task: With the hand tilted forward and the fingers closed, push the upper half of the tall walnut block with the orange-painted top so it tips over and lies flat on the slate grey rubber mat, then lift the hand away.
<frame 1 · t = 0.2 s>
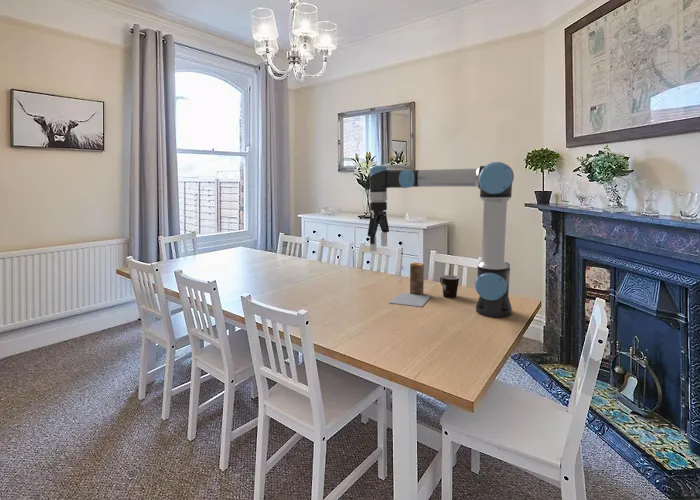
hand: (378, 248, 183), 28 cm above the table, tool pointing down, fingers open, 13 cm apart
rubber mat: (410, 299, 199), on the table
coffee mug: (449, 295, 205), on the table
walnut block: (416, 293, 209), on the table
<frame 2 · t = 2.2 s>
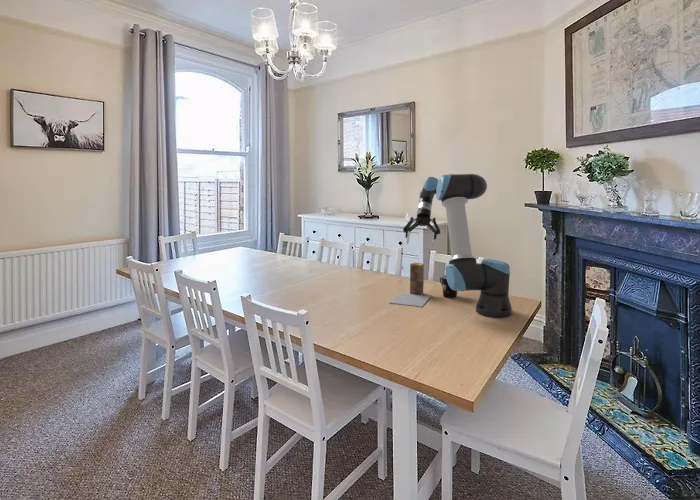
hand: (419, 243, 219), 24 cm above the table, tool tilted 40°, fingers open, 13 cm apart
nothing on the table moved.
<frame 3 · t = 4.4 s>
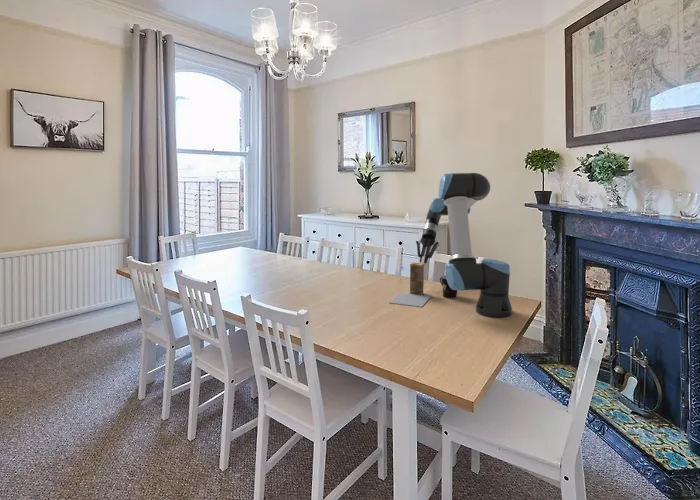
hand: (421, 267, 217), 11 cm above the table, tool tilted 45°, fingers closed
nothing on the table moved.
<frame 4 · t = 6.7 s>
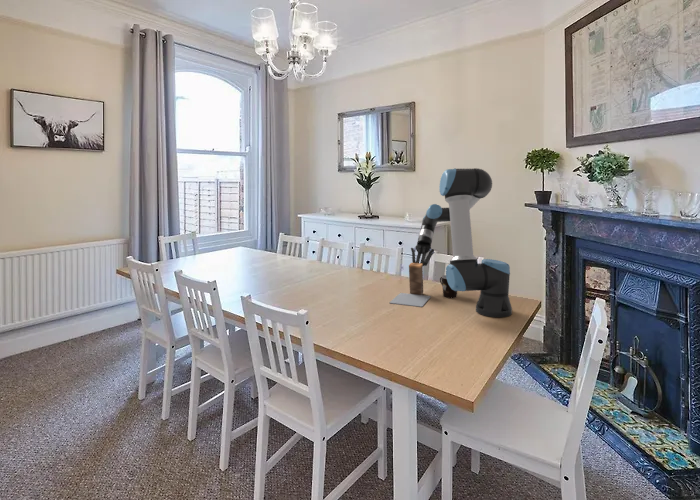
hand: (416, 275, 209), 9 cm above the table, tool tilted 45°, fingers closed
walnut block: (416, 293, 209), on the table, tilted 9°
everything else where it was.
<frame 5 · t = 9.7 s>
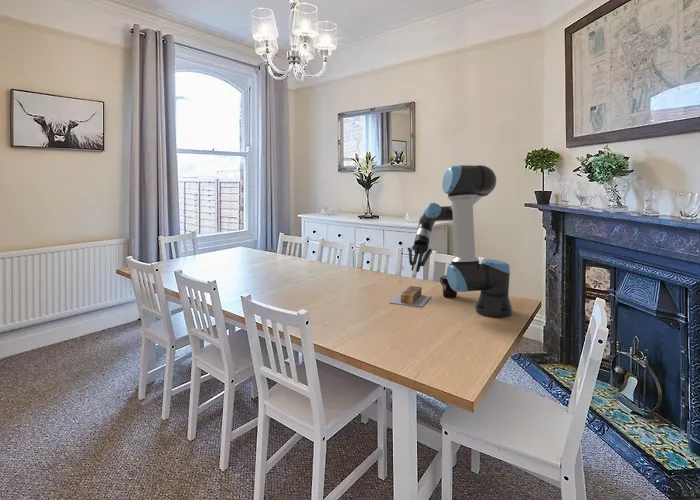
hand: (413, 276, 202), 10 cm above the table, tool tilted 45°, fingers closed
walnut block: (415, 290, 207), point 2 cm above the table, tilted 90°, touching rubber mat
everything else where it was.
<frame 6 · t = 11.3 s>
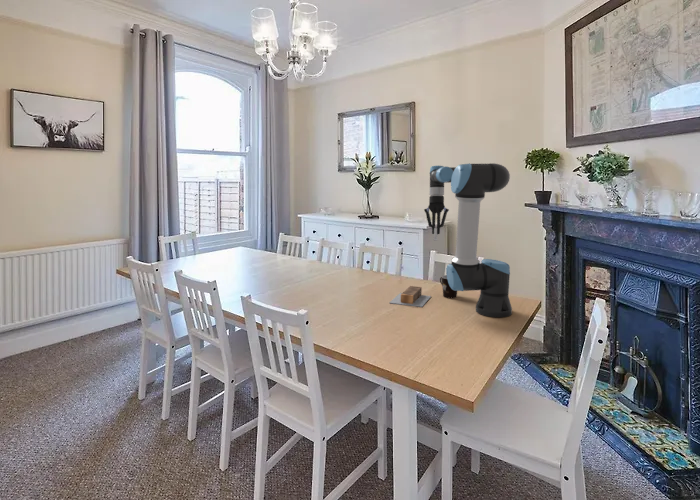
hand: (435, 240, 215), 26 cm above the table, tool pointing down, fingers closed
nothing on the table moved.
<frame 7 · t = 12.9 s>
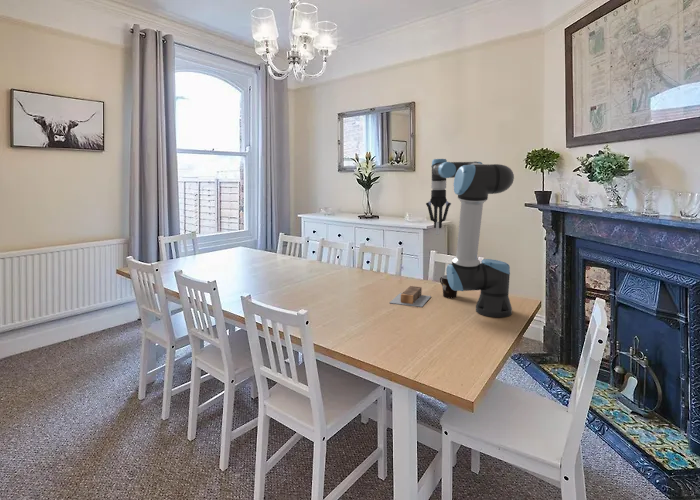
hand: (437, 234, 214), 29 cm above the table, tool pointing down, fingers closed
nothing on the table moved.
at the end: walnut block tilted 90°; walnut block inside the target area (0.1 cm from its centre), point 2.4 cm above the table; walnut block touching rubber mat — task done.
